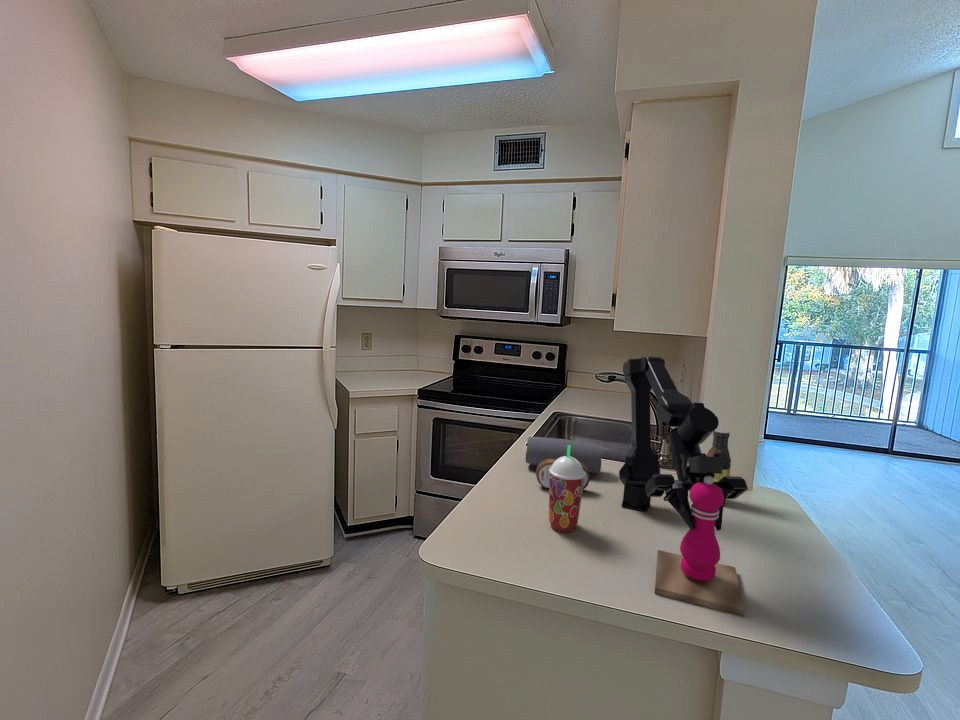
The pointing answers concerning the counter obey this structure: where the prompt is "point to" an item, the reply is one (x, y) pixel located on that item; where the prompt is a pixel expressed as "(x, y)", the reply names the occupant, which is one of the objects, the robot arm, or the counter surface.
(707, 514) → the pepper mill
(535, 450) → the bluetooth speaker
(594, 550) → the counter surface
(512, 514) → the counter surface
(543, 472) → the tin
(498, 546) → the counter surface
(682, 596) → the walnut board
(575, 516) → the smoothie
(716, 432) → the sauce bottle
